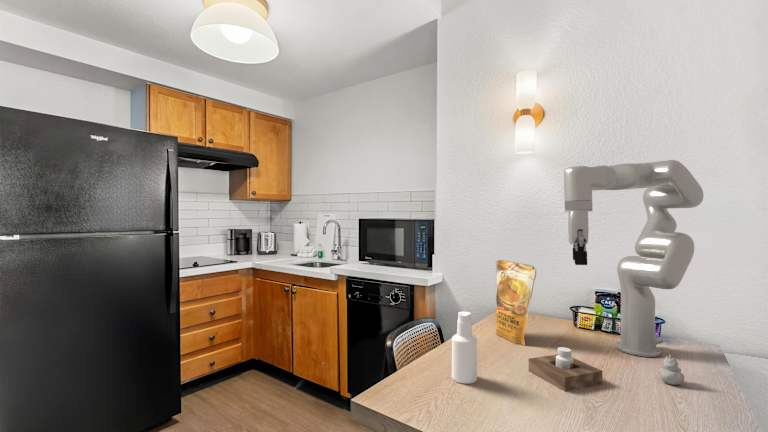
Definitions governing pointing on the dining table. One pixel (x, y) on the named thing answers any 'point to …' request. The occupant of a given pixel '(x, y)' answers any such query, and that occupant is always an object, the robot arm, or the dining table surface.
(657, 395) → the dining table surface
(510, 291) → the pancake mix bag
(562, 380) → the holder block
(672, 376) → the grey swirl figurine
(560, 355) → the pill bottle
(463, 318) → the spray bottle
